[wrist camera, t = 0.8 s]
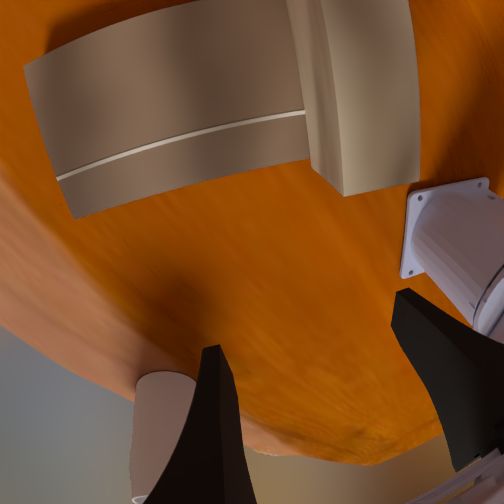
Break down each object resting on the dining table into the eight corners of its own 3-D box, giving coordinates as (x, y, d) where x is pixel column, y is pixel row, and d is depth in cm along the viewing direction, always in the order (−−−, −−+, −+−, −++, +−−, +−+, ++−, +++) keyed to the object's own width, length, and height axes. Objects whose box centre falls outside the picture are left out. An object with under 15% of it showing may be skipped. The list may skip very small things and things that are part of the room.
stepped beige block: (333, -39, 11) (390, -70, 6) (360, 146, 18) (418, 181, 13) (265, -39, 11) (299, -83, 6) (299, 157, 18) (343, 196, 13)
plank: (354, -2, 13) (375, -8, 11) (370, 135, 18) (391, 145, 16) (42, 65, 12) (22, 66, 10) (86, 201, 17) (73, 220, 15)
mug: (160, 359, 25) (163, 490, 16) (215, 385, 29) (233, 499, 19) (106, 399, 28) (100, 503, 18) (156, 420, 31) (161, 515, 21)
